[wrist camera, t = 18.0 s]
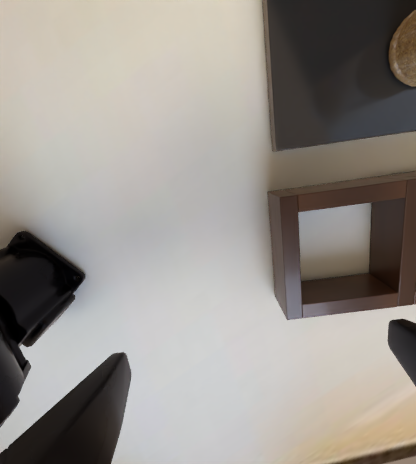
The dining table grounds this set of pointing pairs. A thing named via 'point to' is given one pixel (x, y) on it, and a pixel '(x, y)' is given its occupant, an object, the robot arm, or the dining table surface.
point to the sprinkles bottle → (404, 51)
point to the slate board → (334, 71)
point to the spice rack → (381, 252)
